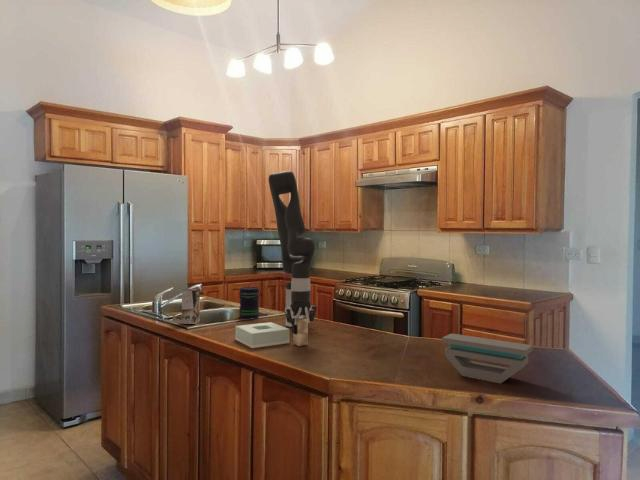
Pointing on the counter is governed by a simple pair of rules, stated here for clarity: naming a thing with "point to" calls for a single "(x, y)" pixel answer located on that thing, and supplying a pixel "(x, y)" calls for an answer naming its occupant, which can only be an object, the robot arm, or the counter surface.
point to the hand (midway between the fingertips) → (300, 333)
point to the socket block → (262, 334)
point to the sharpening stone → (485, 356)
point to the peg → (301, 332)
